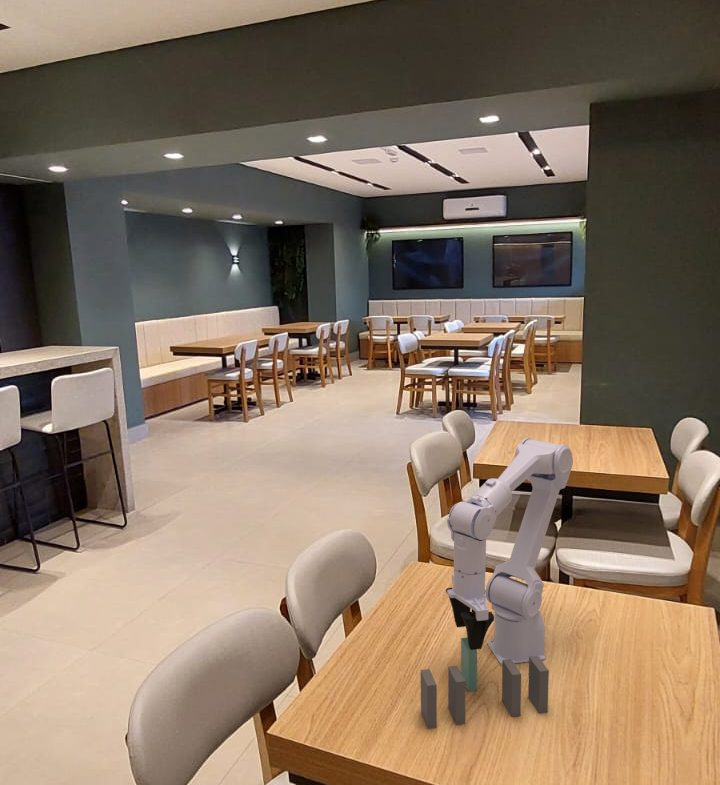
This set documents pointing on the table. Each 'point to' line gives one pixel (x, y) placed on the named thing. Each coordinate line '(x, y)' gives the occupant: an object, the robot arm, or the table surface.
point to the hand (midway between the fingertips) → (468, 636)
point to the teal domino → (468, 665)
